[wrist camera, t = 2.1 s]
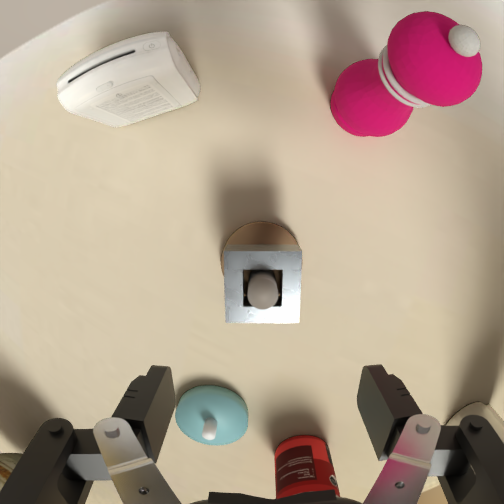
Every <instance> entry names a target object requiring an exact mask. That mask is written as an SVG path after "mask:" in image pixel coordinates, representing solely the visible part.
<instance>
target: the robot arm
mask: <svg viewBox="0 0 504 504" xmlns="http://www.w3.org/2000/svg"><path fill="white" fill-rule="evenodd" d="M357 405H358V409H359V411H360V414H361V416H362V419H363V422H364V424H365V427H366V429H367V432H368V434H369V437H370V439H371V442H372V445H373V447H374V450H375V452H376V455H377V458H378V460H379V461H382V460H387V462H386V464H385V466H384V467H383V469H382V471H381V473H380V475H379V477H378V478H377V480H376V482H375V484H374V486H373V487H372V489H371V491H370V492H369V494H368V496H367V497H366V499H365V501H364V502H363V504H417V502H418V499H419V497H420V495H421V492H422V490H423V487H424V484H425V482H426V479H427V476H437V477H438V480H439V482H440V484H441V487H442V489H443V492H444V494H445V496H446V499H447V501H448V504H504V421H503V420H502V418H501V417H500V416H499V415H498V414H497V413H496V411H495V410H494V409H493V408H492V407H491V406H490V405H489V404H488V405H485V404H483V403H481V402H476V403H472V404H470V405H468V406H466V407H464V408H463V409H461V410H460V411H459V412H457V413H456V414H455V415H454V416H453V417H452V418H451V419H450V420H449V422H448V423H447V424H446V426H442V425H440V423H439V421H438V420H437V419H436V418H434V417H432V416H430V415H426V414H422V412H421V410H420V409H419V407H418V406H417V404H416V402H415V401H414V399H413V398H412V396H411V395H410V393H409V391H408V390H407V389H406V387H405V385H404V384H403V382H402V381H401V380H400V379H399V378H397V377H396V376H395V375H393V374H391V375H388V374H387V372H386V370H385V369H384V367H383V366H382V365H381V364H380V365H369V366H364V367H363V370H362V374H361V379H360V384H359V389H358V394H357ZM174 408H175V392H174V386H173V380H172V373H171V369H170V367H168V366H155V365H152V366H151V368H150V369H149V371H148V373H147V375H146V376H141V375H140V376H138V377H137V378H136V379H134V380H133V381H132V382H131V383H130V385H129V387H128V389H127V391H126V392H125V394H124V397H122V399H121V401H120V403H119V404H118V406H117V408H116V410H115V412H114V413H113V415H112V417H111V418H106V419H103V420H101V421H99V422H98V423H97V424H96V425H95V426H94V429H74V428H73V426H72V424H71V423H70V422H69V421H68V420H65V419H61V418H55V419H51V420H48V421H46V422H45V423H44V424H43V425H42V426H41V427H40V429H39V430H38V432H37V433H36V435H35V436H34V438H33V439H32V441H31V442H30V444H29V446H28V447H27V449H26V450H25V452H24V453H23V455H22V456H21V458H20V460H19V461H18V463H17V464H16V466H15V468H14V469H13V471H12V473H11V474H10V476H9V477H8V479H7V481H6V482H5V484H4V486H3V488H2V489H1V491H0V504H85V502H86V500H87V497H88V494H89V492H90V489H91V487H92V484H93V481H94V480H112V481H113V483H114V485H115V487H116V489H117V492H118V494H119V496H120V498H121V500H122V502H123V504H181V502H180V501H179V500H178V498H177V497H176V495H175V494H174V492H173V491H172V490H171V488H170V487H169V485H168V484H167V482H166V481H165V479H164V478H163V476H162V475H161V473H160V471H159V470H158V468H157V467H156V465H155V464H154V463H156V462H157V459H158V456H159V453H160V450H161V447H162V444H163V441H164V438H165V435H166V432H167V429H168V426H169V423H170V420H171V417H172V414H173V411H174ZM190 504H362V503H360V502H358V501H355V500H351V499H348V498H342V497H336V493H335V489H331V490H322V491H311V492H303V493H299V494H295V495H291V496H287V497H283V498H279V499H265V498H260V497H255V496H250V495H245V494H241V493H220V492H209V497H208V500H202V501H197V502H194V503H190Z"/></svg>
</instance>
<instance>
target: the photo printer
mask: <svg viewBox="0 0 504 504" xmlns="http://www.w3.org/2000/svg"><path fill="white" fill-rule="evenodd" d="M57 88H58V95H57V96H58V99H59V101H60V103H61V104H62V106H63V107H64V108H65V109H66V110H67V111H68V112H69V113H72V114H75V115H78V116H81V117H84V118H88V119H91V120H94V121H97V122H100V123H103V124H105V125H108V126H111V127H121V126H126V125H129V124H132V123H136V122H139V121H142V120H145V119H148V118H151V117H154V116H157V115H160V114H163V113H166V112H169V111H172V110H175V109H178V108H181V107H184V106H186V105H189V104H191V103H193V102H195V101H197V100H198V98H197V97H198V95H199V93H200V83H199V80H198V78H197V77H196V75H195V73H194V71H193V70H192V68H191V66H190V64H189V63H188V61H187V59H186V57H185V56H184V54H183V52H182V51H181V49H180V47H179V46H178V44H177V43H176V42H175V41H174V40H173V39H172V37H171V35H170V34H169V33H168V32H166V31H165V32H152V33H147V34H143V35H138V36H135V37H131V38H128V39H125V40H122V41H119V42H116V43H114V44H111V45H109V46H107V47H104V48H102V49H100V50H98V51H96V52H94V53H92V54H90V55H88V56H87V57H85V58H83V59H81V60H80V61H78V62H77V63H75V64H74V65H73V66H71V67H70V68H69V69H68V70H66V71H65V72H64V73H63V74H62V75H61V76H60V78H59V79H58V81H57Z"/></svg>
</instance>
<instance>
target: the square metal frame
mask: <svg viewBox="0 0 504 504" xmlns="http://www.w3.org/2000/svg"><path fill="white" fill-rule="evenodd" d="M301 268H302V250H301V249H300V247H299V245H255V244H227V245H226V247H225V249H224V286H225V317H226V323H299V312H300V292H301ZM244 270H280V296H278V300H277V302H276V303H275V305H274V306H272V307H271V308H269V309H263V310H262V309H257V308H255V307H253V306H252V305H251V304H250V302H249V300H248V296H244Z"/></svg>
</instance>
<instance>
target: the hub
mask: <svg viewBox="0 0 504 504" xmlns="http://www.w3.org/2000/svg"><path fill="white" fill-rule="evenodd" d="M175 418H176V422H177V425H178V426H179V428H180V429H181V431H182V432H183V433H184V434H185V435H187V436H188V437H190V438H191V439H193V440H195V441H197V442H200V443H203V444H208V445H225V444H230V443H232V442H235V441H237V440H238V439H240V438H241V437H242V436H243V435H244V434H245V432H246V430H247V427H248V409H247V406H246V404H245V402H244V401H243V400H242V398H241V397H240V396H238V395H237V394H236V393H234V392H233V391H231V390H229V389H226V388H223V387H220V386H213V385H203V386H197V387H194V388H192V389H190V390H188V391H187V392H185V393H184V394H183V395H182V397H181V399H180V401H179V404H178V407H177V410H176V414H175Z"/></svg>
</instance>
